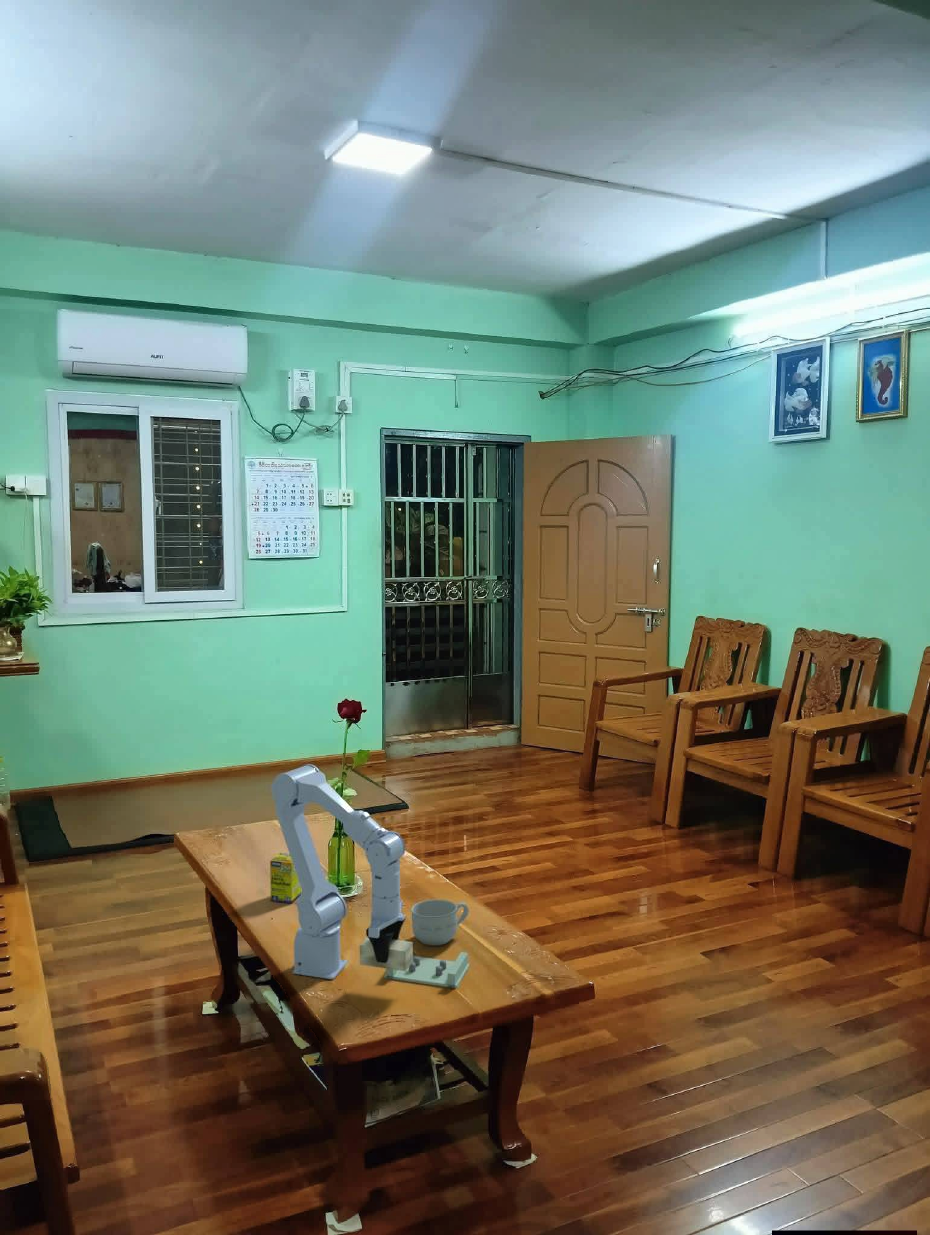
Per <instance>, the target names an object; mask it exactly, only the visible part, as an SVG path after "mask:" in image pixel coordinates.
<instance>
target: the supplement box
mask: <svg viewBox="0 0 930 1235" xmlns="http://www.w3.org/2000/svg"><path fill="white" fill-rule="evenodd" d="M269 864H270V866H269V867H270V868H269V870H270V871H269V872H270V876H269V877H270V901H271V902H272V901H276V903H284V904H290V903H291V904H290V905H293V903H294V902H295V901H296V900H298V899H299V897H300V894H301V892H302V889H301V886H300V883H299V880H298V877H297V874H296V871H295V868H294V865H293V862H292V859H291V856H290V853H284V852H279V853H278V854H276V855H275V856H273V858H271V860H270V861H269Z"/></svg>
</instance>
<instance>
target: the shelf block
mask: <svg viewBox="0 0 930 1235" xmlns="http://www.w3.org/2000/svg"><path fill="white" fill-rule="evenodd" d="M413 944H414V942H413V941H409V940H408V941H406V940H400V939H398V940H394V939H391V943H390V947H389V956H388V960H387V962H386V963H381V962H377V961H376V957H375V953H374V949H373V946H372V944H371V942H370V940H369V938H368V937H367V936H366V937H365V938H364V940H363V941H362V942H361V943H360V944H359V965H361V966H367V967H374V968H381V969H386V968H387V969H393V970H400V971H406V970H407V969H408V967H409V966H410V965H411V963H412V962H413V956H414V954H413V953H414V950H413V949H414V948H413V946H414V945H413Z"/></svg>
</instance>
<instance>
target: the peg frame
mask: <svg viewBox="0 0 930 1235" xmlns="http://www.w3.org/2000/svg"><path fill="white" fill-rule="evenodd" d="M470 967H471V963H469V952H463V951H461V952H459V954H458V956H457V958H456V959H455V961H453V960H446V959H445V960H444V959H437V958H430V957H423V956H417V955H413V962H412V963H411V965H410V966H409V967H408V969H407V970H406V971H400V970H393V969H387V968H385V974H384V975H383V976H384V979H390V980H396V981H403V982H409V983H410V982H411V983H417V984H424V985H431V986H436V987H445V988H449V989H450V988H453V989H458V988H459V985H461V983H462V980H463V979H464V977H465V976H466V974H467V972H468V970H469V968H470Z"/></svg>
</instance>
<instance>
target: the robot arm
mask: <svg viewBox="0 0 930 1235" xmlns="http://www.w3.org/2000/svg"><path fill="white" fill-rule="evenodd" d="M270 791H271V794H272V797H273V800H274V803H275V804H274V805H275V806H274V807H275V809H274V810H275V815H276V818H277V820H278V824H279V827H280V829H281V832H282V835H283V839H284V841H285V844H286V848H287V850H288V854H290V856H291V859H292V862H293V865H294V868H295V871H296V874H297V877H298V880H299V883H300V886H301V894H300V896H299V897H298V898H297V902H296V907H297V912H298V917H297V918H298V923H299V927H298V929H297V931H296V932H295V935H294V942H293V957H294V958H293V959H294V961H293V962H294V963H293V964H294V969H293V970H292V974H295V975H300V974H301V975H302V976H308V977H315V978H322V979H328V980H334V979H335V978H336V977H337V975H339V974H340V972H341V971H342V970H343V969H344V968H345V967H346V965H347V964H348V960H346V959H341V927H342V924H343V923H342V920H344V919H345V917H346V915H347V913H348V906H347V903H346V901H345V899H344V898H343V896H342V895H341V893H340V892H339V890H338V887H337V886H336V885H335V884H333V883H331V882H329V881H328V880H327V877H326V875H325V873H324V870H323V866H322V864H321V861H320V858H319V856H318V852H317V848H316V846H315V844H314V841H313V837H312V834H311V832H310V829H309V827H308V826H309V825H308V823H307V820H306V817H305V814H304V811H305V809H306V807H307V805H308V803H315V804H318V805H319V806H320V807H321V808H322V809H324V810H325V811H326V812H328V813H329V814H330V815H331V816H333V817H334V818H335V819H337V820H338V821H340V823H341V824H342V826H343V832H344V833H345V834H346V835H347V836H348V837H349V838H350V839H351V840H352V841H353V842H354V843H355V844H357V845H358V846H359V847H360V848H361V849H362V850H363V851H364V852H365V857H366V861H367V862H368V863H369V867H370V868H369V869H370V872H371V914H370V925H369V926H368V927H367V928H366V929H365V935H366V937H368V938H369V940H370V942H371V944H372V946H373V949H374V953H375V957H376V961H377V962H381V963H386V962H387V960H388V956H389V947H390V943H391V939H394V940H399V939H400V938H399V937H400V933H401V930H402V928H403V926H404V923H405V921H406V914H405V913H402V910H403V900H401V890H400V889H401V868H400V867H401V864H400V863H401V861H400V859H401V858H402V857H403V856H404V854H405V852H406V844H405V841H404V839H403V837H401V835H400V834H399V833H398V832H397V831H393V830H392V831H389V830H387V829H385V828H384V827H382V826H381V825H379V824H378V823H377V822H376V821H375V820H374V819H373V818H372V817H371V815H370V814H369V813H368V812H367V811H364V810H355V809H353V808H352V807H351V806H350V805H349V804H348V803H347V801H345V799H343V798H342V797H341V795H340V794H339V793H338V792H337V791H335V789H334V788H332V786H331V785H330V784H329V783H328V782H327V778H326V775H325V773H323V772H322V771H321V770H320V769H319V768H318V767H317V766H316V765H314V764H311V763H310V764H309V763H307V764H305V765H303V766H301V767H297V768H295V769H292V770H289V771H287V772H286V771H285V772H281V773H279V774H277V775H276V776H275V778H274V779H273V782H272V784H271V786H270ZM301 975H300V976H301Z"/></svg>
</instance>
